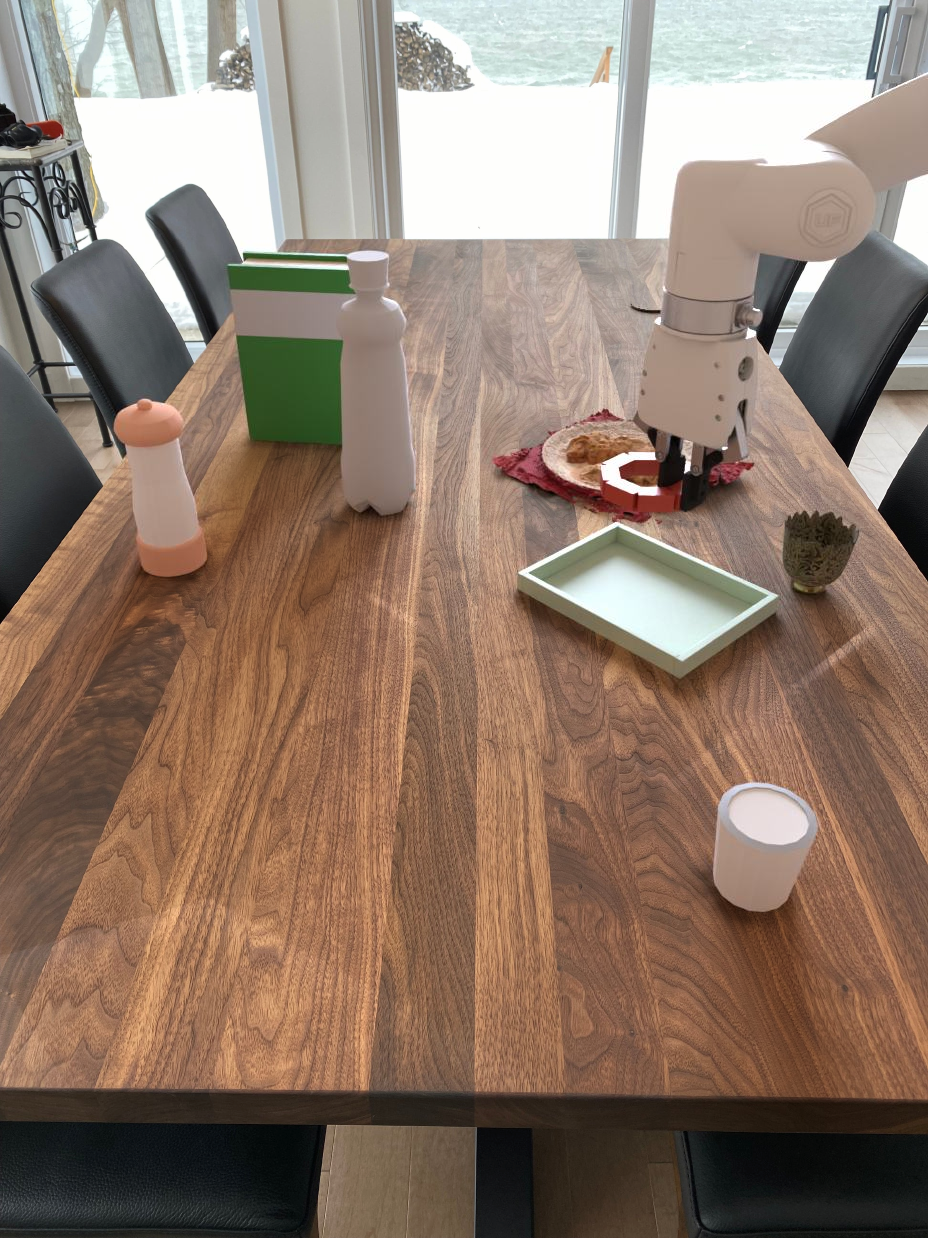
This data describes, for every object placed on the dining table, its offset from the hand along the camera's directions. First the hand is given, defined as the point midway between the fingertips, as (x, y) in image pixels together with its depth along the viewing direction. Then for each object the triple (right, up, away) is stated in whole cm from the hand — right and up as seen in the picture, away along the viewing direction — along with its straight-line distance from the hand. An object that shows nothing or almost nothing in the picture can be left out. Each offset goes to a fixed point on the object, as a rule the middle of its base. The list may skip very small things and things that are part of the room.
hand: (680, 500), depth 94 cm
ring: (-3, +1, +2) cm, 4 cm away
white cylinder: (+1, -31, -21) cm, 38 cm away
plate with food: (0, +8, +36) cm, 37 cm away
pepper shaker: (-54, -5, +17) cm, 57 cm away
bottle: (-31, +3, +29) cm, 43 cm away
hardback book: (-42, +15, +46) cm, 64 cm away
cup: (+16, -8, +12) cm, 22 cm away
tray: (-2, -10, +10) cm, 14 cm away
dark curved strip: (+16, +50, +97) cm, 110 cm away
